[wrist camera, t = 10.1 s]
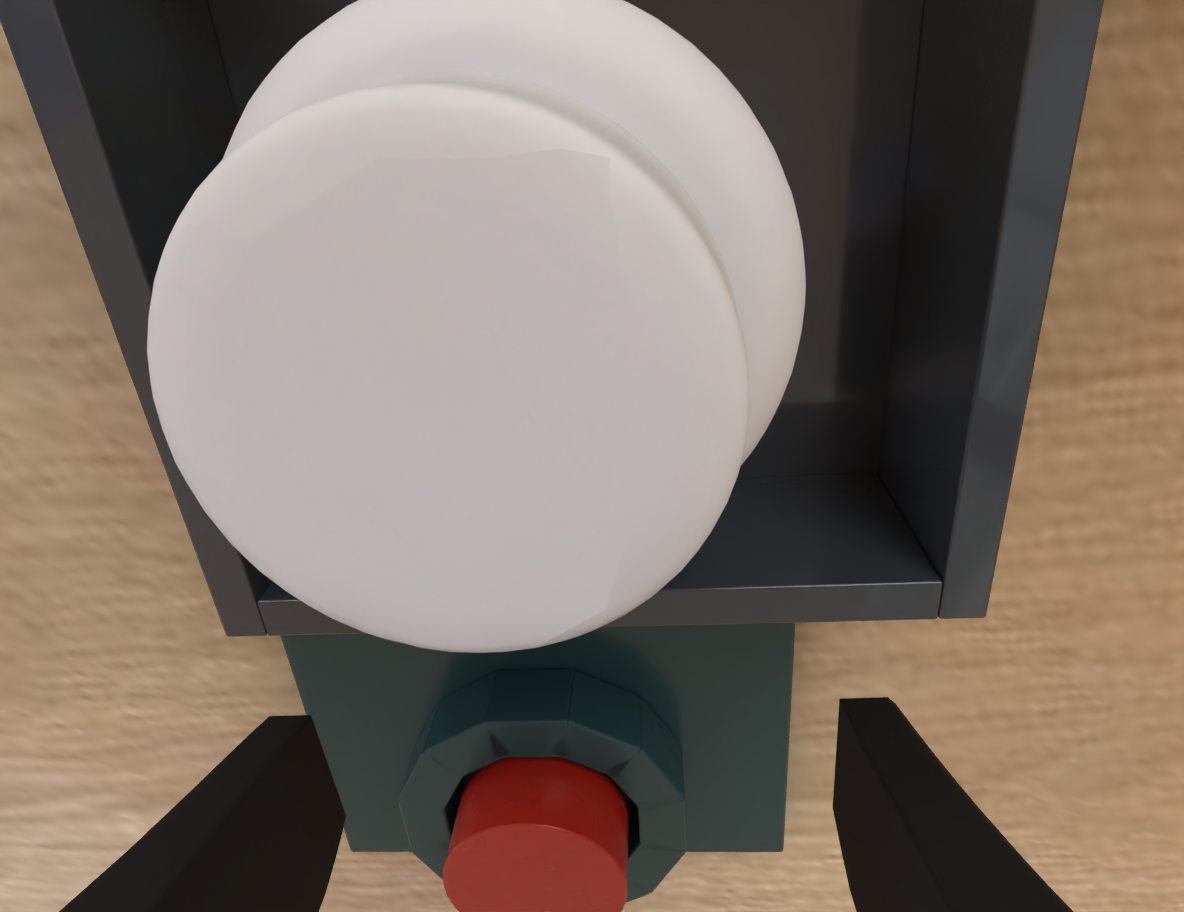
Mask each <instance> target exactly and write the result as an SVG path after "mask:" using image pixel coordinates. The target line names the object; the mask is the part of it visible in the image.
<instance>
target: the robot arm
mask: <svg viewBox="0 0 1184 912" xmlns="http://www.w3.org/2000/svg"><path fill="white" fill-rule="evenodd" d="M833 811H834V816H835V821H836V826H837V831H838V836H839V840H840V845H841V850H842V855H843V860H844V864H845V869H846V873H847V878H848V883H849V887H850V891H851V895H852V898H853V901H854V904H855V908H856V911H857V912H1073V911H1072V910H1071V909H1070V908H1069V907H1068V906H1067V905H1066V903H1065V902H1064V901H1063V900H1062V899H1061V898H1060V897H1059V896H1058V895H1057V894H1056V893H1055V892H1054V891H1053V890H1052V889H1051V888H1050V887H1049V886H1048V885H1047V884H1046V883H1045V881H1044V880H1043V879H1042V878H1041V877H1040V876H1039V875H1038V874H1037V873H1036V872H1035V871H1034V870H1033V868H1032V867H1031V866H1030V865H1029V864H1028V863H1027V862H1026V861H1025V860H1024V859H1023V858H1022V856H1021V855H1020V854H1019V853H1018V852H1017V851H1016V850H1015V848H1014V847H1013V846H1012V845H1011V844H1010V843H1009V842H1008V841H1007V839H1006V838H1005V837H1004V836H1003V835H1002V834H1001V833H1000V831H999V830H998V829H997V828H996V827H995V826H994V825H993V824H992V822H991V821H990V820H989V819H988V818H987V817H986V816H985V815H984V813H983V812H982V811H981V810H980V809H979V808H978V806H977V805H976V804H975V803H974V802H973V801H972V799H971V798H970V797H969V796H968V795H967V793H966V792H965V791H964V790H963V789H962V787H961V786H960V785H959V784H958V783H957V781H956V780H955V779H954V778H953V776H952V775H951V774H950V773H949V772H948V770H947V769H946V768H945V767H944V765H943V764H942V763H941V762H940V761H939V759H938V758H937V757H936V756H935V754H934V753H933V752H932V751H931V749H930V748H929V747H928V746H927V744H926V743H925V742H924V740H923V739H922V738H921V737H920V735H919V734H918V733H917V731H916V730H915V729H914V727H913V726H912V725H911V724H910V722H909V721H908V720H907V718H906V717H905V716H904V714H903V713H902V712H901V710H900V709H899V708H898V706H897V705H896V704H895V703H894V702H893V701H892V700H890V699H889V698H888V697H883V698H850V699H840V703H839V718H838V734H837V750H836V765H835V781H834V797H833ZM345 819H346V814H345V811H344V808H343V805H342V802H341V800H340V797H339V794H338V791H337V788H336V785H335V782H334V780H333V777H332V774H331V771H330V768H329V765H328V762H327V760H326V757H325V754H324V751H323V748H322V745H321V742H320V740H319V737H318V734H317V731H316V728H315V725H314V722H313V720H312V717H311V715H298V716H269V717H268V718H267V719H266V720H265V721H264V722H263V723H262V724H261V725H259V726H258V727H257V728H256V729H255V730H254V731H253V732H252V733H251V734H250V735H249V736H248V737H247V738H245V739H244V740H243V741H242V742H241V743H240V744H239V745H238V746H237V747H236V748H235V749H234V750H233V751H232V752H231V753H230V754H229V755H228V756H227V757H226V758H225V759H224V760H223V761H221V762H220V763H219V764H218V765H217V766H216V767H215V768H214V769H213V770H212V771H211V772H210V773H209V774H208V775H207V776H206V777H205V778H204V779H203V780H202V781H201V782H200V783H199V784H198V785H197V786H196V787H195V788H194V789H193V790H191V791H190V792H189V793H188V794H187V795H186V796H185V797H184V798H183V799H182V800H181V801H180V802H179V803H178V804H177V805H176V806H175V807H174V808H173V809H171V810H170V811H169V812H168V813H167V814H166V815H165V816H164V817H163V818H162V819H161V820H160V821H159V822H158V823H157V824H156V825H155V826H154V827H152V828H151V829H150V830H149V831H148V832H147V833H146V834H145V835H144V836H143V837H142V838H141V839H140V840H139V841H138V842H137V843H136V844H135V845H133V846H132V847H131V848H130V849H129V850H128V851H127V852H126V853H125V854H124V855H123V856H121V857H120V858H119V859H118V860H117V861H116V862H115V863H114V864H112V865H111V866H110V867H109V868H108V869H107V870H106V871H104V872H103V873H102V874H101V875H100V876H99V877H98V878H97V879H95V880H94V881H93V882H92V883H91V884H90V885H89V886H88V887H86V888H85V889H84V890H83V891H82V892H81V893H80V894H79V895H77V896H76V897H75V898H74V899H73V900H72V901H71V902H70V903H68V904H67V905H66V906H65V907H64V908H63V909H62V910H61V911H59V912H319V909H320V906H321V904H322V901H323V899H324V896H325V893H326V890H327V886H328V883H329V879H330V876H331V872H332V869H333V865H334V862H335V858H336V854H337V850H338V846H339V843H340V839H341V835H342V831H343V827H344V823H345Z"/></svg>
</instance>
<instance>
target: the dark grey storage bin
mask: <svg viewBox="0 0 1184 912" xmlns="http://www.w3.org/2000/svg"><path fill="white" fill-rule="evenodd" d="M356 1H358V0H0V21H1V24H2V27H3V30H4V32H5V35H6V38H7V40H8V43H9V46H10V49H11V51H12V54H13V57H14V59H15V62H16V65H17V68H18V70H19V73H20V76H21V78H22V81H23V84H24V87H25V89H26V92H27V95H28V98H29V100H30V103H31V106H32V108H33V111H34V114H35V117H36V119H37V122H38V125H39V127H40V130H41V133H42V136H43V138H44V141H45V144H46V146H47V149H48V152H49V155H50V157H51V160H52V163H53V165H54V168H55V171H56V174H57V176H58V179H59V182H60V185H61V187H62V190H63V193H64V195H65V198H66V201H67V204H68V206H69V209H70V212H71V214H72V217H73V220H74V223H75V225H76V228H77V231H78V233H79V236H80V239H81V242H82V244H83V247H84V250H85V253H86V255H87V258H88V261H89V263H90V266H91V269H92V272H93V274H94V277H95V280H96V282H97V285H98V288H99V291H100V293H101V296H102V299H103V301H104V304H105V307H106V310H107V312H108V315H109V318H110V320H111V323H112V326H113V329H114V331H115V334H116V337H117V340H118V342H119V345H120V348H121V350H122V353H123V356H124V359H125V361H126V364H127V367H128V369H129V372H130V375H131V378H132V380H133V383H134V386H135V388H136V391H137V394H138V397H139V399H140V402H141V405H142V407H143V410H144V413H145V416H146V418H147V421H148V424H149V427H150V429H151V432H152V435H153V437H154V440H155V443H156V446H157V448H158V451H159V454H160V456H161V459H162V462H163V465H164V467H165V470H166V473H167V475H168V478H169V481H170V484H171V486H172V489H173V492H174V494H175V497H176V500H177V503H178V505H179V508H180V511H181V514H182V516H183V519H184V522H185V524H186V527H187V530H188V533H189V535H190V538H191V541H192V543H193V546H194V549H195V552H196V554H197V557H198V560H199V562H200V565H201V568H202V571H203V573H204V576H205V579H206V582H207V584H208V587H209V590H210V592H211V595H212V598H213V601H214V603H215V606H216V609H217V611H218V614H219V617H220V620H221V622H222V625H223V628H224V630H225V633H226V635H227V636H228V637H235V636H265V635H267V634H268V635H270V636H276V635H316V634H356V633H365V632H362V631H360V630H358V629H355V628H353V627H351V626H348V625H346V624H344V623H341V622H339V621H337V620H335V619H333V618H330V617H328V616H327V615H325V614H323V613H321V612H319V611H318V610H316V609H314V608H312V607H310V606H308V605H307V604H305V603H304V602H302V601H301V600H299V599H297V598H296V597H294V596H293V595H291V594H290V593H288V592H286V591H285V590H284V589H282V588H281V587H280V586H278V585H277V584H276V583H275V582H273V581H272V580H271V579H269V578H268V577H267V576H265V575H264V574H263V573H261V572H260V571H259V570H258V569H257V568H256V567H255V566H254V565H252V564H251V563H250V562H249V561H248V560H247V559H246V558H245V557H244V556H243V555H242V554H241V553H240V552H239V551H238V550H237V549H236V548H235V547H233V546H232V545H231V543H230V542H229V541H228V540H227V538H226V537H225V536H224V535H223V533H222V532H221V531H220V530H219V529H218V527H217V526H216V525H215V524H214V522H213V521H212V520H211V519H210V517H209V516H208V515H207V514H206V512H205V511H204V509H203V508H202V506H201V505H200V503H199V501H198V500H197V498H196V497H195V495H194V494H193V492H192V490H191V489H190V487H189V486H188V484H187V482H186V481H185V479H184V477H183V475H182V474H181V472H180V470H179V468H178V466H177V464H176V463H175V460H174V458H173V455H172V453H171V450H170V448H169V445H168V443H167V440H166V437H165V435H164V432H163V430H162V427H161V423H160V420H159V417H158V413H157V410H156V406H155V403H154V400H153V394H152V388H151V382H150V374H149V365H148V356H147V337H148V318H149V310H150V304H151V297H152V291H153V284H154V279H155V276H156V272H157V269H158V266H159V262H160V259H161V256H162V253H163V250H164V248H165V245H166V243H167V240H168V238H169V235H170V233H171V231H172V229H173V227H174V225H175V223H176V221H177V219H178V218H179V216H180V214H181V213H182V211H183V209H184V208H185V206H186V205H187V203H188V201H189V200H190V198H191V197H192V195H193V193H194V192H195V190H196V189H197V188H198V187H199V186H200V184H201V183H202V182H203V181H204V180H205V179H206V178H207V176H208V175H209V174H210V173H211V172H212V171H213V170H214V169H215V167H216V166H217V165H218V164H219V163H220V162H221V161H222V159H223V157H224V154H225V152H226V149H227V147H228V145H229V142H230V140H231V137H232V135H233V132H234V130H235V128H236V126H237V124H238V122H239V120H240V118H241V116H242V114H243V112H244V110H245V108H246V105H247V103H248V102H249V100H250V99H251V97H252V96H253V94H254V93H255V92H256V90H257V89H258V87H259V86H260V84H261V83H262V82H263V81H264V79H265V78H266V77H267V75H268V74H269V73H270V72H271V70H272V69H273V68H274V67H275V66H276V64H277V63H278V62H279V61H280V60H281V59H282V58H283V57H284V56H285V55H286V54H287V53H288V52H289V51H290V50H291V49H292V48H293V47H294V46H295V45H296V44H297V42H298V41H299V40H301V39H302V38H303V37H305V36H306V35H307V34H309V33H310V32H311V31H313V30H314V29H315V28H317V27H318V26H319V25H320V24H322V23H323V22H324V21H326V20H327V19H329V18H330V17H332V16H333V15H335V14H336V13H338V12H339V11H341V10H342V9H343V8H345V7H346V6H348V5H350V4H352V3H354V2H356ZM623 1H626V2H628V3H630V4H632V5H634V6H636V7H637V8H639V9H641V10H643V11H645V12H647V13H648V14H650V15H652V16H654V17H656V18H657V19H659V20H660V21H662V22H663V23H664V24H666V25H667V26H669V27H670V28H672V29H673V30H674V31H676V32H677V33H678V34H680V35H681V36H683V37H684V38H685V39H687V40H688V41H689V42H691V43H692V44H693V45H694V46H695V47H696V48H697V49H698V50H699V51H700V52H702V53H703V54H704V55H705V56H706V57H707V58H708V59H709V60H710V61H711V62H712V63H713V64H714V65H715V66H716V67H717V68H718V69H719V70H720V71H721V72H722V73H723V74H724V75H725V77H726V78H727V79H728V80H729V81H730V82H731V84H732V85H733V86H734V87H735V88H736V89H737V91H738V92H739V93H740V94H741V96H742V97H743V99H744V100H745V101H746V103H747V104H748V106H749V107H750V109H751V110H752V112H753V114H754V115H755V117H756V118H757V120H758V122H759V123H760V125H761V126H762V128H763V130H764V131H765V133H766V135H767V137H768V138H769V140H770V142H771V144H772V146H773V148H774V150H775V152H776V154H777V156H778V159H779V161H780V164H781V166H782V169H783V171H784V174H785V177H786V180H787V182H788V185H789V187H790V190H791V192H792V195H793V199H794V203H795V207H796V211H797V215H798V220H799V225H800V230H801V235H802V241H803V250H804V261H805V277H806V293H805V309H804V317H803V325H802V332H801V336H800V341H799V346H798V350H797V354H796V358H795V362H794V367H793V371H792V374H791V376H790V379H789V381H788V384H787V387H786V389H785V392H784V394H783V397H782V399H781V402H780V404H779V406H778V408H777V410H776V413H775V415H774V416H773V418H772V420H771V422H770V424H769V426H768V427H767V429H766V431H765V433H764V434H763V436H762V437H761V439H760V441H759V442H758V444H757V445H756V447H755V448H754V450H753V451H752V452H751V454H750V455H749V457H748V458H747V459H746V460H745V461H744V463H743V464H742V465H741V466H740V470H739V474H738V476H737V479H736V482H735V484H734V487H733V489H732V492H731V495H730V497H729V500H728V502H727V504H726V506H725V508H724V510H723V511H722V513H721V515H720V517H719V519H718V521H717V522H716V524H715V526H714V528H713V530H712V532H711V533H710V534H709V536H708V537H707V539H706V540H705V542H704V543H703V545H702V546H701V547H700V549H699V550H698V551H697V553H696V554H695V555H694V556H693V557H692V559H691V560H690V561H689V562H688V563H687V565H686V566H685V567H684V568H683V569H682V571H680V572H679V573H678V574H677V575H676V576H675V577H674V578H673V579H672V580H671V581H669V582H668V583H667V584H666V585H665V586H664V587H663V588H662V589H660V590H659V591H658V592H657V593H656V594H654V595H653V596H652V597H651V598H649V599H648V600H646V601H645V602H643V603H642V604H640V605H639V606H637V607H636V608H635V609H633V610H632V611H630V612H629V613H627V614H626V615H624V616H622V617H620V618H618V619H616V620H614V621H612V622H610V623H608V624H606V625H604V626H601V627H638V626H678V625H718V624H759V623H799V622H839V621H879V620H920V619H937V617H939V618H941V619H952V618H983V617H985V616H986V612H987V607H988V602H989V597H990V591H991V586H992V581H993V576H994V570H995V565H996V560H997V555H998V550H999V544H1000V539H1001V534H1002V529H1003V523H1004V518H1005V513H1006V508H1007V503H1008V497H1009V492H1010V487H1011V482H1012V477H1013V471H1014V466H1015V461H1016V456H1017V450H1018V445H1019V440H1020V435H1021V430H1022V424H1023V419H1024V414H1025V409H1026V404H1027V398H1028V393H1029V388H1030V383H1031V377H1032V372H1033V367H1034V362H1035V357H1036V351H1037V346H1038V341H1039V336H1040V330H1041V325H1042V320H1043V315H1044V310H1045V304H1046V299H1047V294H1048V289H1049V284H1050V278H1051V273H1052V268H1053V263H1054V257H1055V252H1056V247H1057V242H1058V237H1059V231H1060V226H1061V221H1062V216H1063V211H1064V205H1065V200H1066V195H1067V190H1068V184H1069V179H1070V174H1071V169H1072V164H1073V158H1074V153H1075V148H1076V143H1077V138H1078V132H1079V127H1080V122H1081V117H1082V111H1083V106H1084V101H1085V96H1086V91H1087V85H1088V80H1089V75H1090V70H1091V64H1092V59H1093V54H1094V49H1095V44H1096V38H1097V33H1098V28H1099V23H1100V18H1101V12H1102V7H1103V2H1104V0H623Z"/></svg>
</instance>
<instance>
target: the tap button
mask: <svg viewBox="0 0 1184 912" xmlns="http://www.w3.org/2000/svg"><path fill="white" fill-rule="evenodd" d="M628 817H629V814H628V809H627V805H626V802H625V800H624V797H623V796H622V794H621V792H620V790H619V789H618V788H617V787H616V785H615V784H614V783H613V782H612V781H611V780H610V779H609V778H608V777H607V776H605V775H604V774H603V773H601V772H598V771H596V770H593V769H590V768H588V767H585V766H583V765H580V764H578V763H575V762H572V761H570V760H567V759H565V758H562V757H508V758H502V759H500V760H497V761H495V762H493V763H491V764H489V765H487V766H485V767H483V768H482V769H481V770H479V771H478V772H477V773H476V774H475V775H474V776H473V777H472V778H471V779H470V780H469V782H468V783H467V785H466V786H465V788H464V790H463V793H462V796H461V800H460V804H459V808H458V812H457V816H456V820H455V824H454V828H453V832H452V836H451V840H450V844H449V848H448V852H447V856H446V860H445V864H444V868H443V882H444V888H445V891H446V893H447V896H448V897H449V899H450V901H451V903H452V904H453V905H454V907H455V908H456V909H457V910H458V911H459V912H621V911H622V909H623V907H624V904H625V902H626V898H627V887H628Z"/></svg>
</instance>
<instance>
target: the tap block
mask: <svg viewBox="0 0 1184 912" xmlns="http://www.w3.org/2000/svg"><path fill="white" fill-rule="evenodd" d="M794 637H795V623H759V624H718V625H678V626H638V627H599V628H597V629H595V630H593V631H591V632H588V633H585V634H583V635H580V636H578V637H575V638H571V639H568V640H565V641H561V642H557V643H554V644H550V645H546V646H542V647H538V648H530V649H523V650H515V651H507V652H486V653H470V652H447V651H440V650H433V649H425V648H420V647H416V646H412V645H408V644H405V643H400V642H396V641H391V640H387V639H384V638H380V637H377V636H374V635H371V634H368V633H356V634H316V635H281V638H282V641H283V644H284V647H285V650H286V653H287V656H288V659H289V663H290V666H291V669H292V672H293V675H294V678H295V681H296V684H297V687H298V690H299V693H300V696H301V699H302V702H303V705H304V708H305V711H306V714H307V715H311V717H312V720H313V722H314V725H315V728H316V731H317V734H318V737H319V740H320V742H321V745H322V748H323V751H324V754H325V757H326V760H327V762H328V765H329V768H330V771H331V774H332V777H333V780H334V782H335V785H336V788H337V791H338V794H339V797H340V800H341V802H342V805H343V808H344V811H345V814H346V819H345V823H344V830H345V833H346V837H347V840H348V843H349V846H350V849H351V851H353V852H413V853H414V854H415V855H416V856H417V857H418V858H419V859H420V860H421V861H423V862H424V863H425V864H426V865H427V866H428V867H429V868H430V869H431V870H433V871H434V872H435V873H436V874H437V875H438V876H439V877H440V878H442V879H443V868H444V864H445V860H446V856H447V852H448V848H449V844H450V840H451V836H452V832H453V828H454V824H455V820H456V816H457V812H458V808H459V804H460V800H461V796H462V793H463V790H464V788H465V786H466V785H467V783H468V782H469V780H470V779H471V778H472V777H473V776H474V775H475V774H476V773H477V772H478V771H479V770H481V769H482V768H483V767H485V766H487V765H489V764H491V763H493V762H495V761H497V760H500V759H502V758H508V757H562V758H565V759H567V760H570V761H572V762H575V763H578V764H580V765H583V766H585V767H588V768H590V769H593V770H596V771H598V772H601V773H603V774H604V775H605V776H607V777H608V778H609V779H610V780H611V781H612V782H613V783H614V784H615V785H616V787H617V788H618V789H619V790H620V792H621V794H622V796H623V797H624V800H625V802H626V805H627V809H628V814H629V817H628V887H627V898H626V902H629V901H631V900H634V899H637V898H639V897H642V896H645V895H647V894H649V893H652V892H653V890H654V889H655V888H656V887H657V886H658V884H659V883H660V882H661V881H662V880H663V879H664V877H665V876H666V875H667V874H668V873H669V871H670V870H671V869H672V868H673V867H674V866H675V864H676V863H677V862H678V861H679V860H680V858H681V857H682V856H683V855H684V854H685V852H782V851H783V845H784V826H785V807H786V788H787V770H788V751H789V732H790V713H791V694H792V675H793V656H794ZM626 902H625V903H626Z"/></svg>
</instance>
